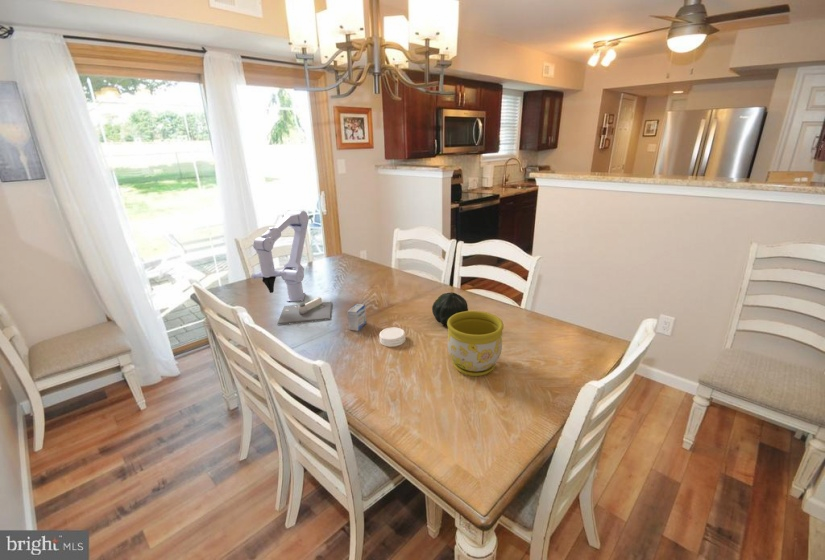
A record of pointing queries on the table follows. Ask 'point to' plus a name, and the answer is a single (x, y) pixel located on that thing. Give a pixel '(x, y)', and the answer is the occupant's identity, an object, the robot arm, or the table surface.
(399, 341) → the coaster
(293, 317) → the dial base
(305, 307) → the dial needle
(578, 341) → the table surface
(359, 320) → the medicine box
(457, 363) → the flowerpot
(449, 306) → the squash
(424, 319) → the table surface
